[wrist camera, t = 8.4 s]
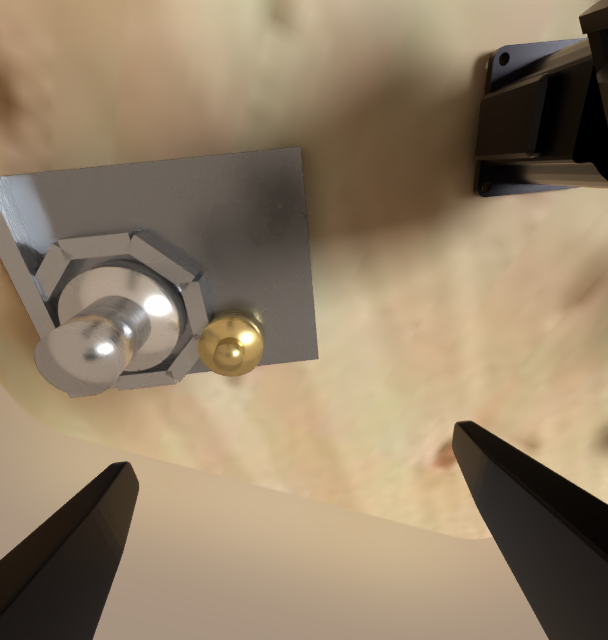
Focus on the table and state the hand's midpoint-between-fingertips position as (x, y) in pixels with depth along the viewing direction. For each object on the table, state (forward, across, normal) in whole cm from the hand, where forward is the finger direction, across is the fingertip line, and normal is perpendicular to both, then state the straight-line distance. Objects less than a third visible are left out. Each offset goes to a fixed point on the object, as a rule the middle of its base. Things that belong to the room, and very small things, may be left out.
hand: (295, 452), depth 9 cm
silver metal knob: (+11, +9, 0) cm, 14 cm away
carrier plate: (+12, +6, -2) cm, 14 cm away
